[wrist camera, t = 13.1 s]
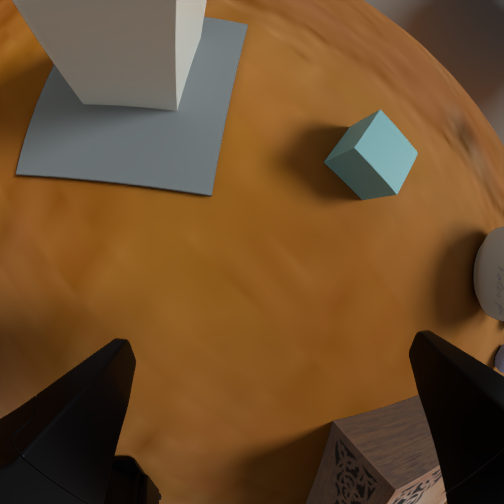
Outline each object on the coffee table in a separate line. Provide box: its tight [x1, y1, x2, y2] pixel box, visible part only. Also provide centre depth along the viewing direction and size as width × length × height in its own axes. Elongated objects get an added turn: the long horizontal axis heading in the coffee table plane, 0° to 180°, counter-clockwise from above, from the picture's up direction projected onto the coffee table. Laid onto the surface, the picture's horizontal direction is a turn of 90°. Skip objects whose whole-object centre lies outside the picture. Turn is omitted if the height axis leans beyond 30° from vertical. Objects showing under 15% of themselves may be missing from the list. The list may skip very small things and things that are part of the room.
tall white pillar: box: [12, 0, 207, 111], centre depth 8 cm, size 7×7×12 cm
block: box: [324, 110, 418, 200], centre depth 17 cm, size 4×4×4 cm
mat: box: [16, 17, 248, 196], centre depth 14 cm, size 14×14×1 cm
